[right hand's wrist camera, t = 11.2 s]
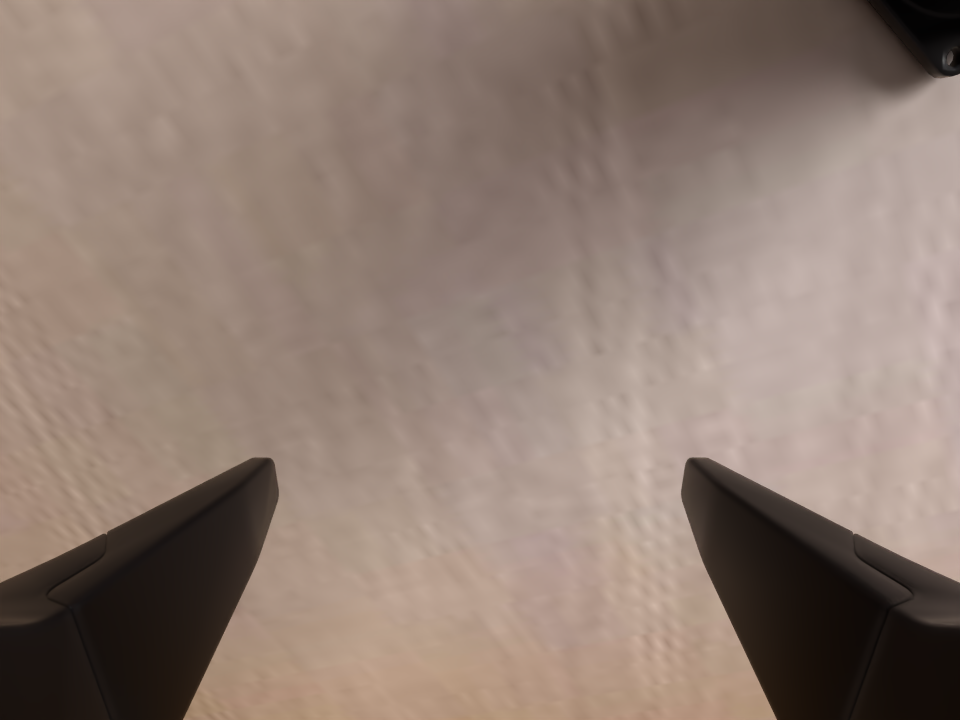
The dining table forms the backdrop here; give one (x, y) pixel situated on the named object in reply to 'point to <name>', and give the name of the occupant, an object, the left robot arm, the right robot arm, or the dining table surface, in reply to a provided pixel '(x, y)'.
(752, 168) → the dining table surface
